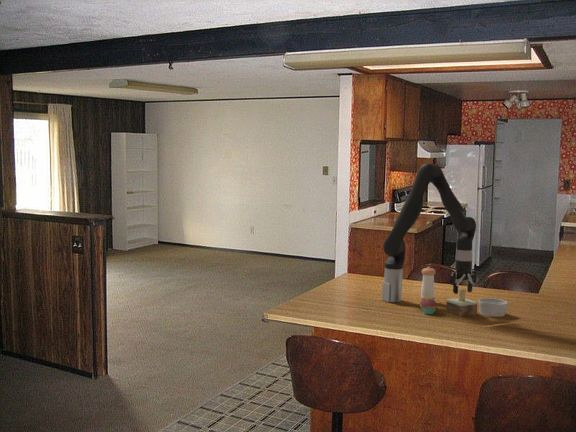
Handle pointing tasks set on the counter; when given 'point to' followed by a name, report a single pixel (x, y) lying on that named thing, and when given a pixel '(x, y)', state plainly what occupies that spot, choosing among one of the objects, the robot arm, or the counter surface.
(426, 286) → the pepper shaker
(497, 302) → the ramekin
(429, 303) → the cupcake
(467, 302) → the lid
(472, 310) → the walnut box
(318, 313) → the counter surface
